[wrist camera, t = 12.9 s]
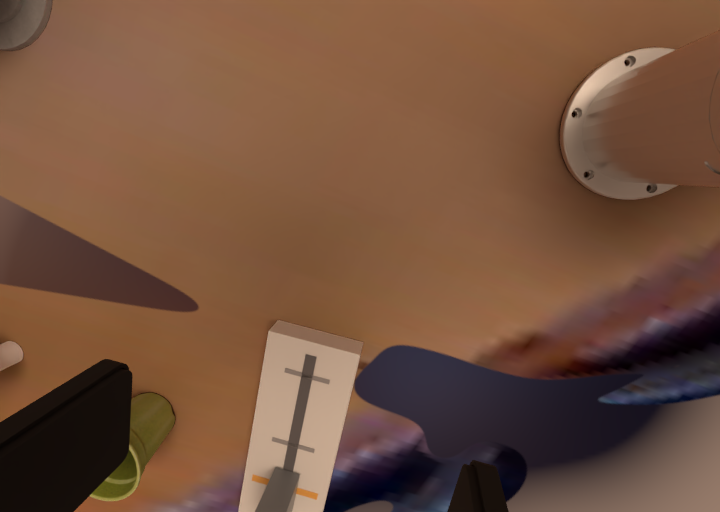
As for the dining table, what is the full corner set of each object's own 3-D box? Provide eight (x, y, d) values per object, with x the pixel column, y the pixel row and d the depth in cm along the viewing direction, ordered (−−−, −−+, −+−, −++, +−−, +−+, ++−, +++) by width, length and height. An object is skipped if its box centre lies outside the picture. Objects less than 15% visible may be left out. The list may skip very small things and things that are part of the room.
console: (363, 342, 41) (360, 355, 38) (320, 521, 48) (314, 545, 45) (278, 319, 42) (268, 331, 39) (247, 499, 49) (236, 521, 46)
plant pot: (110, 420, 49) (48, 472, 40) (134, 366, 46) (73, 409, 38) (171, 456, 49) (122, 516, 40) (198, 403, 46) (152, 455, 38)
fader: (300, 474, 43) (282, 523, 37) (293, 508, 44) (275, 560, 38) (274, 466, 43) (253, 514, 37) (268, 500, 44) (246, 551, 38)
